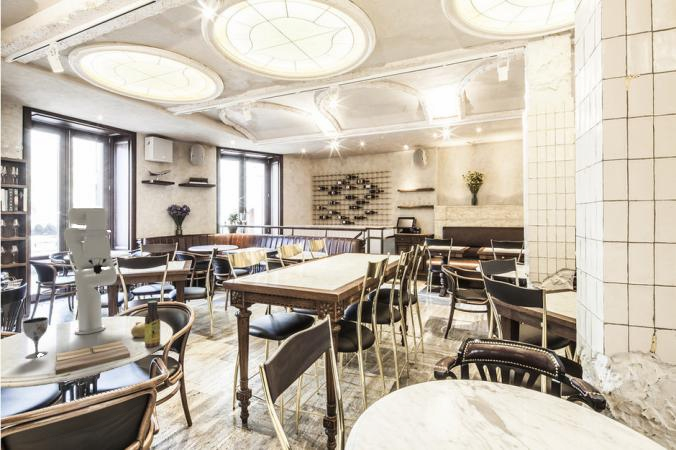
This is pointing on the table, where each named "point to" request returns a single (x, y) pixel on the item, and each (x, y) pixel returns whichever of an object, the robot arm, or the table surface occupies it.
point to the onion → (138, 330)
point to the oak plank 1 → (73, 354)
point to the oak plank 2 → (107, 347)
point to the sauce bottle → (152, 325)
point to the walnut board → (91, 359)
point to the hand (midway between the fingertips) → (97, 273)
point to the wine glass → (35, 333)
